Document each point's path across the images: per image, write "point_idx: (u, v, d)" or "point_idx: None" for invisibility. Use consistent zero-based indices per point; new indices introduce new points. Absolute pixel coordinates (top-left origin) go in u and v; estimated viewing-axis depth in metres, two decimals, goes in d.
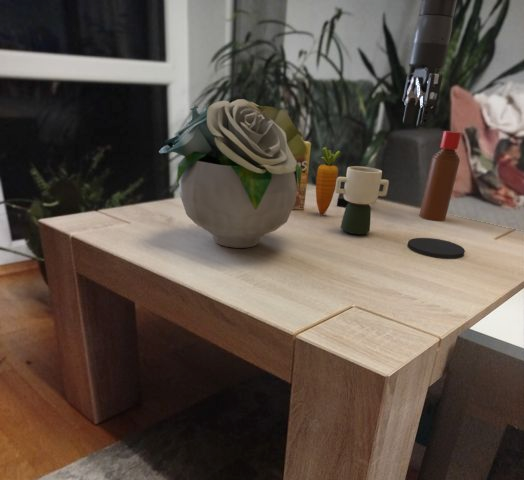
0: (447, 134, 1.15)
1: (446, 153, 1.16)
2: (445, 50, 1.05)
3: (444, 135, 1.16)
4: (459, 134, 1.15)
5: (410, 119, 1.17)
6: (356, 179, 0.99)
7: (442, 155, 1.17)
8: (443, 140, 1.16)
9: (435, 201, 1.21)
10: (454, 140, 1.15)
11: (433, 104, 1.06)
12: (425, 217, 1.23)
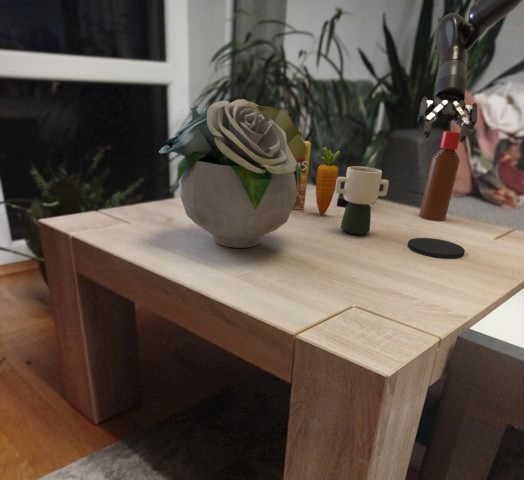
0: (447, 134, 1.15)
1: (446, 153, 1.16)
2: (441, 80, 1.27)
3: (444, 135, 1.16)
4: (459, 134, 1.15)
5: (461, 136, 1.25)
6: (356, 179, 0.99)
7: (442, 155, 1.17)
8: (443, 140, 1.16)
9: (435, 201, 1.21)
10: (454, 140, 1.15)
11: (419, 117, 1.27)
12: (425, 217, 1.23)
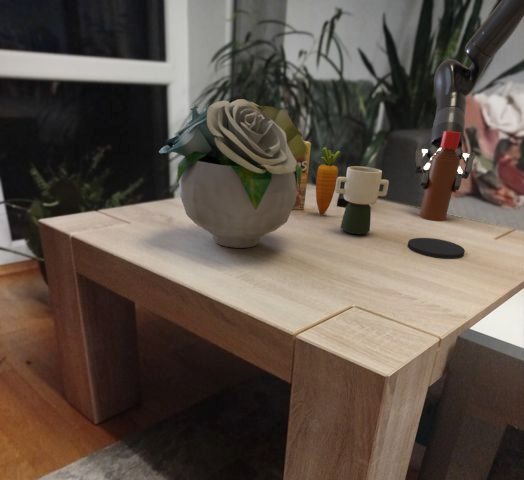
0: (447, 134, 1.15)
1: (446, 153, 1.16)
2: (437, 128, 1.23)
3: (444, 135, 1.16)
4: (459, 134, 1.15)
5: (454, 186, 1.20)
6: (356, 179, 0.99)
7: (442, 155, 1.17)
8: (443, 140, 1.16)
9: (435, 201, 1.21)
10: (453, 140, 1.15)
11: (416, 167, 1.22)
12: (425, 217, 1.23)
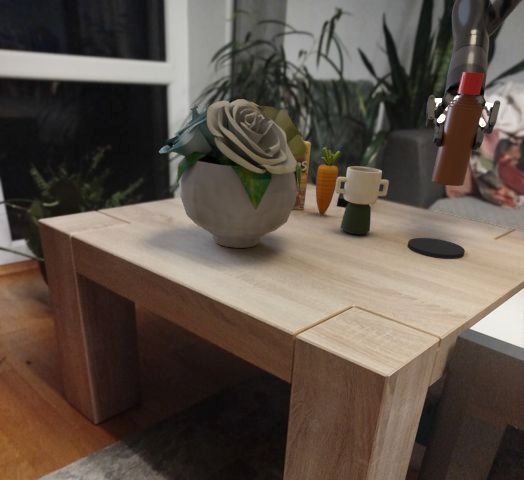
0: (467, 76, 0.92)
1: (465, 100, 0.94)
2: (454, 71, 1.00)
3: (463, 77, 0.93)
4: (482, 75, 0.92)
5: (475, 142, 0.97)
6: (356, 179, 0.99)
7: (460, 102, 0.94)
8: (462, 83, 0.93)
9: (451, 160, 0.98)
10: (475, 82, 0.92)
11: (428, 120, 1.00)
12: (439, 182, 1.01)
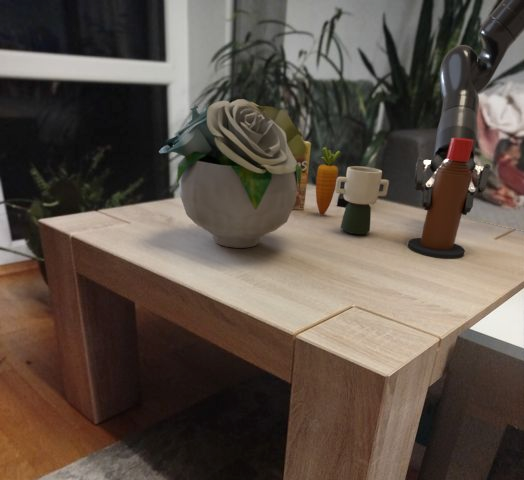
0: (457, 143, 0.90)
1: (455, 166, 0.91)
2: (443, 133, 0.98)
3: (452, 143, 0.91)
4: (471, 142, 0.90)
5: (464, 207, 0.95)
6: (356, 179, 0.99)
7: (449, 169, 0.91)
8: (451, 150, 0.91)
9: (440, 226, 0.95)
10: (464, 150, 0.90)
11: (416, 183, 0.97)
12: (428, 245, 0.98)
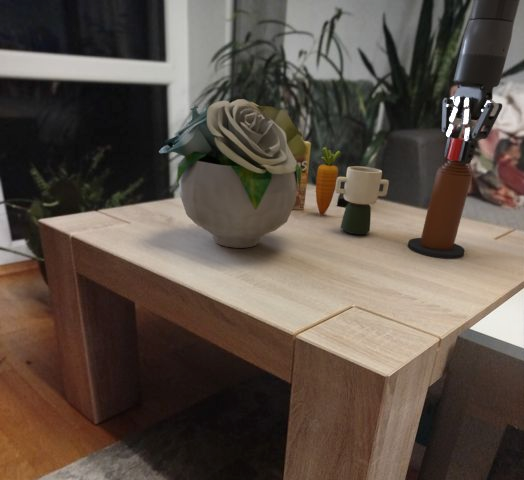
0: (457, 143, 0.90)
1: (455, 166, 0.91)
2: (504, 64, 0.83)
3: (452, 143, 0.91)
4: None
5: None
6: (356, 179, 0.99)
7: (450, 169, 0.91)
8: (451, 150, 0.91)
9: (440, 226, 0.95)
10: None
11: (483, 137, 0.86)
12: (428, 245, 0.98)
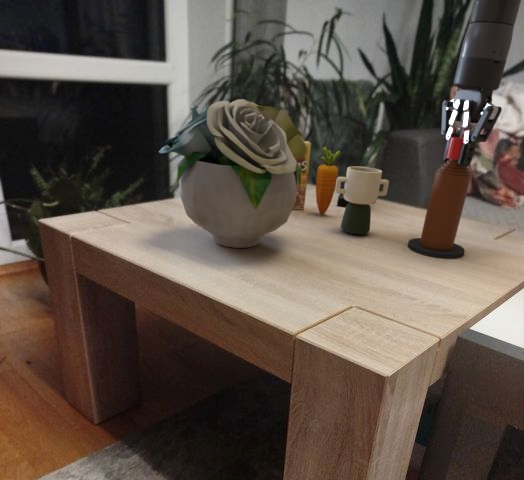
0: None
1: (455, 166, 0.91)
2: None
3: None
4: None
5: None
6: (356, 179, 0.99)
7: (450, 169, 0.91)
8: None
9: (440, 226, 0.95)
10: None
11: None
12: (428, 246, 0.98)
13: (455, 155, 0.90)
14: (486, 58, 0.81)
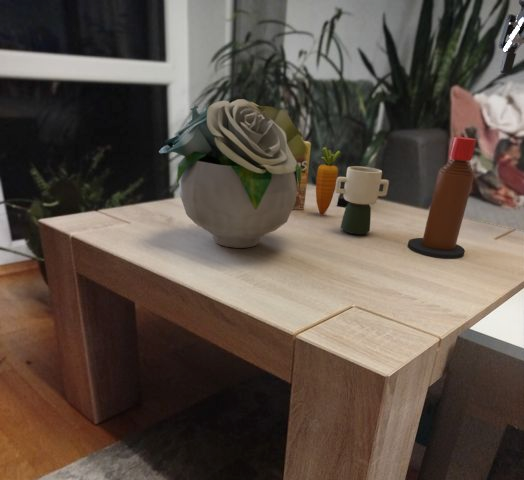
0: None
1: (458, 166, 0.91)
2: None
3: None
4: None
5: None
6: (356, 179, 0.99)
7: (453, 169, 0.91)
8: None
9: (443, 226, 0.95)
10: None
11: None
12: (431, 246, 0.98)
13: (458, 155, 0.91)
14: None
